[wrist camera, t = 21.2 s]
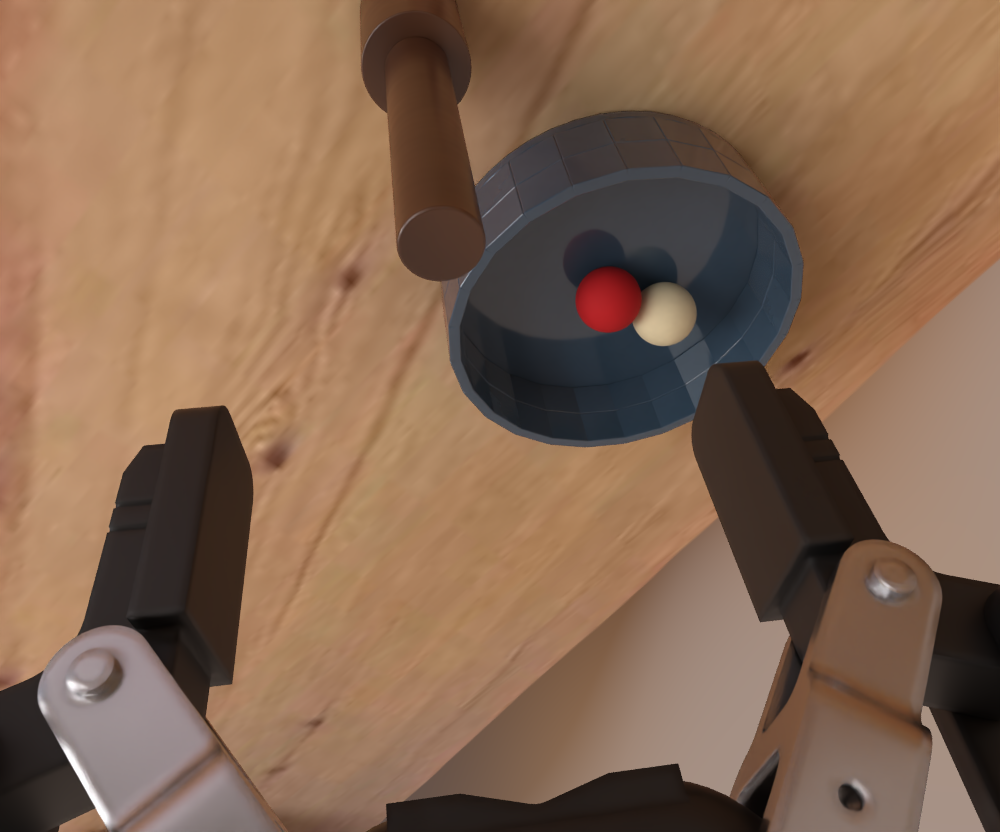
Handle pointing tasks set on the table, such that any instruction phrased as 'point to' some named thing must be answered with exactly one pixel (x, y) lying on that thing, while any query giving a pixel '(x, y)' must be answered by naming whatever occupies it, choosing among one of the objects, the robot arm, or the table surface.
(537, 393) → the bowl
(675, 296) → the cream ball
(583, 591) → the table surface
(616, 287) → the red ball
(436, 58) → the brown stepped wooden peg
